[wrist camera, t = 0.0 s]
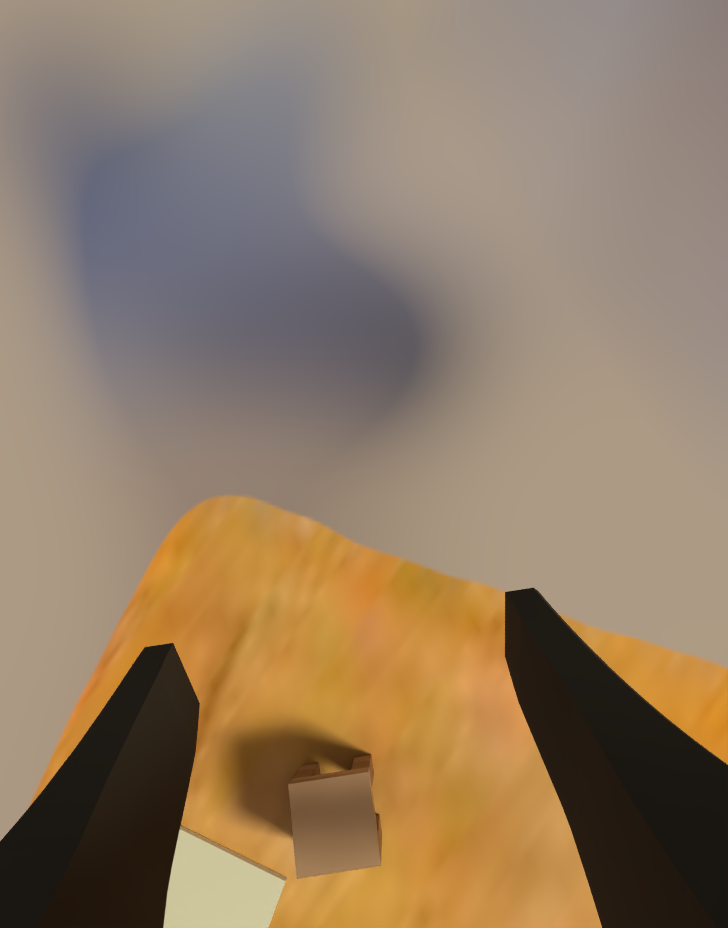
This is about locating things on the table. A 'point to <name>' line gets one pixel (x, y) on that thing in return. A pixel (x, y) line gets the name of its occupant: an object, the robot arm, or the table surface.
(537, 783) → the table surface
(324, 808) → the stool
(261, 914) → the mat
